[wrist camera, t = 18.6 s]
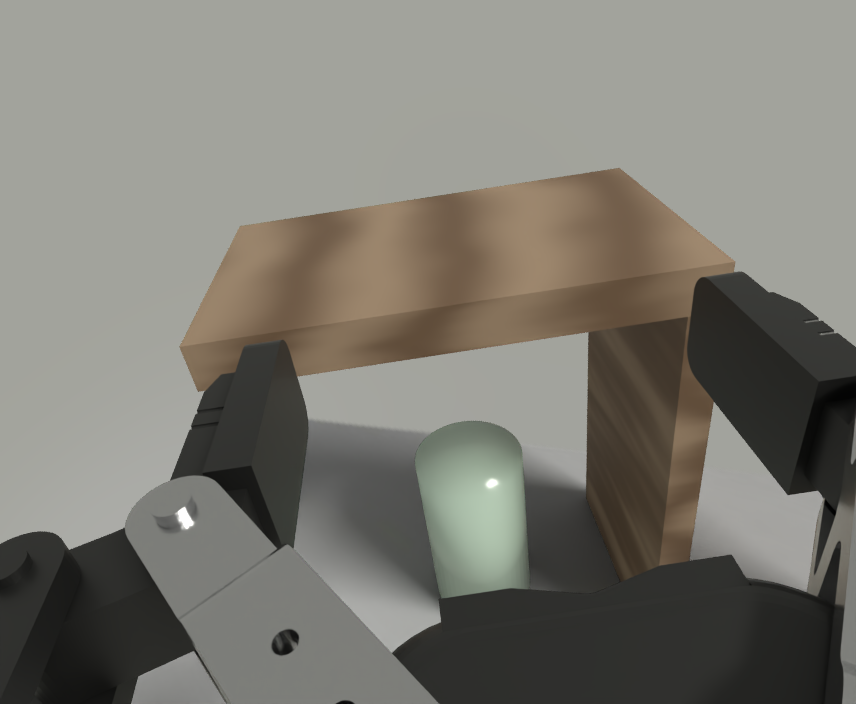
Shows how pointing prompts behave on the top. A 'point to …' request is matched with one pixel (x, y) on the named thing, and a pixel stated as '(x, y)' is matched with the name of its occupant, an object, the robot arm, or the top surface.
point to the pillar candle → (474, 508)
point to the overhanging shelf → (501, 319)
